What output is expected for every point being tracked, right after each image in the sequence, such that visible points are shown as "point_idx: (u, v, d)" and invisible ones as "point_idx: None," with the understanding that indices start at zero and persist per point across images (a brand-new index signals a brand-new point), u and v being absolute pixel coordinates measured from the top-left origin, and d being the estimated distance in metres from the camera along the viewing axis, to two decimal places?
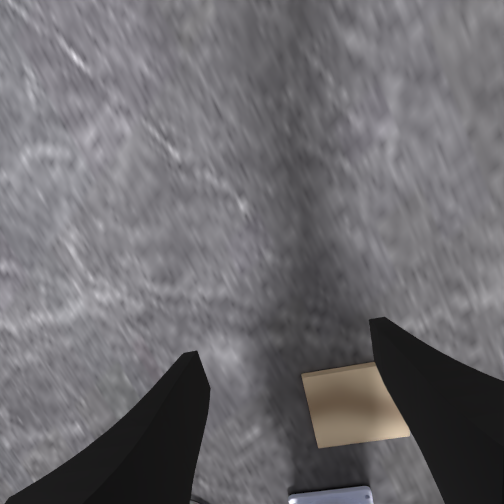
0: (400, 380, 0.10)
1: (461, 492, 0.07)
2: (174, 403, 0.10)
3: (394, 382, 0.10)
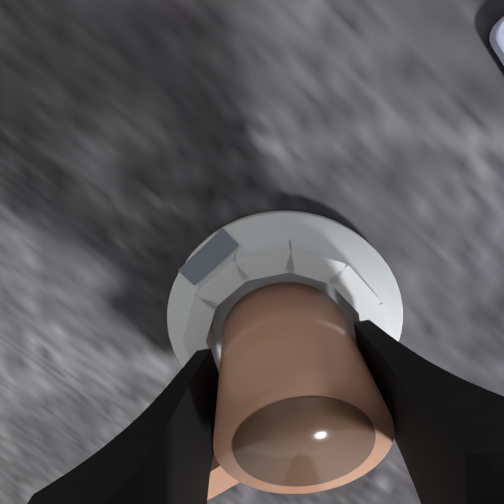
0: (381, 383, 0.10)
1: (434, 495, 0.07)
2: (191, 400, 0.10)
3: None
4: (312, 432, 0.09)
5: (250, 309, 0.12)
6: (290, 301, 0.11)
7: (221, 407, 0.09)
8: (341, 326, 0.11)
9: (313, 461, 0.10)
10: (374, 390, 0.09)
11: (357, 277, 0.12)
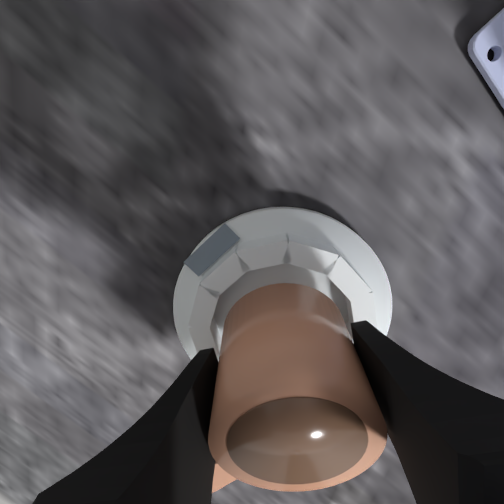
0: (377, 384, 0.10)
1: (429, 496, 0.07)
2: (195, 400, 0.10)
3: (373, 385, 0.10)
4: (304, 432, 0.09)
5: (247, 310, 0.12)
6: (285, 302, 0.11)
7: (215, 406, 0.09)
8: (336, 327, 0.11)
9: (307, 460, 0.10)
10: (365, 391, 0.09)
11: (349, 267, 0.13)
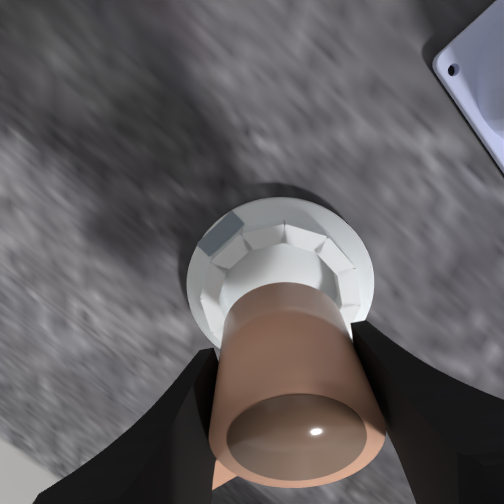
0: (377, 384, 0.10)
1: (429, 496, 0.07)
2: (195, 400, 0.10)
3: (373, 385, 0.10)
4: (303, 428, 0.09)
5: (247, 309, 0.12)
6: (285, 301, 0.12)
7: (216, 403, 0.09)
8: (336, 325, 0.11)
9: (306, 456, 0.10)
10: (364, 388, 0.09)
11: (335, 247, 0.15)
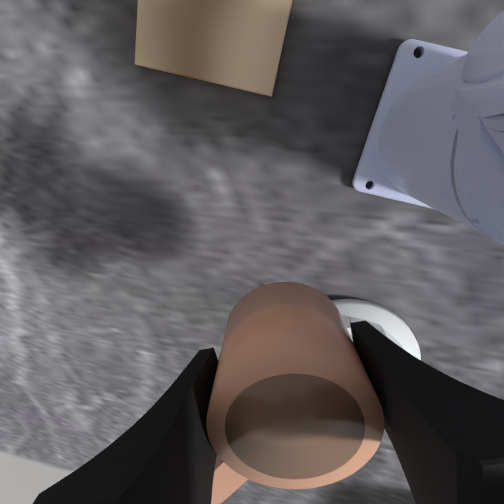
0: (377, 384, 0.10)
1: (428, 496, 0.07)
2: (195, 400, 0.10)
3: (372, 385, 0.10)
4: (297, 414, 0.09)
5: (241, 310, 0.13)
6: (275, 297, 0.12)
7: (211, 396, 0.10)
8: (326, 314, 0.11)
9: (308, 448, 0.10)
10: (350, 365, 0.09)
11: None
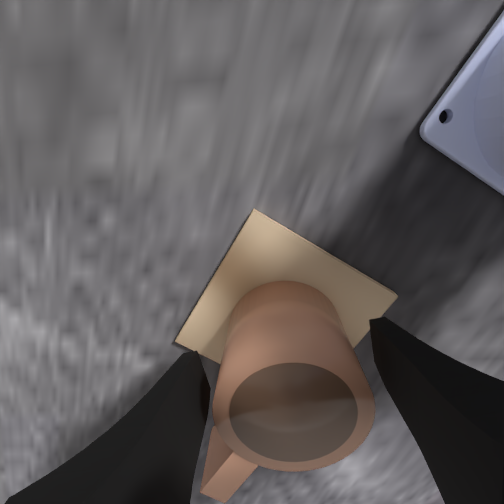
0: (400, 380, 0.10)
1: (461, 492, 0.07)
2: (174, 403, 0.10)
3: (394, 382, 0.10)
4: (294, 399, 0.10)
5: (239, 310, 0.13)
6: (269, 295, 0.13)
7: (215, 390, 0.11)
8: (316, 307, 0.12)
9: (308, 431, 0.11)
10: (337, 351, 0.10)
11: None
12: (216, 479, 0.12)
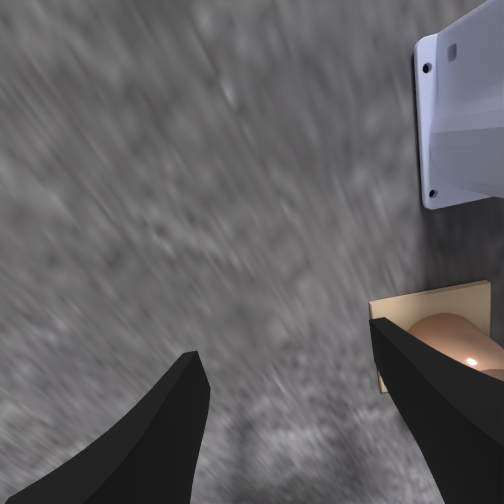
0: (400, 380, 0.10)
1: (461, 492, 0.07)
2: (174, 403, 0.10)
3: (394, 382, 0.10)
4: None
5: None
6: None
7: None
8: (449, 332, 0.19)
9: None
10: (482, 357, 0.17)
11: None
12: None
